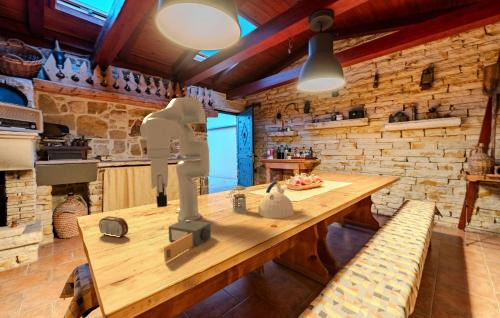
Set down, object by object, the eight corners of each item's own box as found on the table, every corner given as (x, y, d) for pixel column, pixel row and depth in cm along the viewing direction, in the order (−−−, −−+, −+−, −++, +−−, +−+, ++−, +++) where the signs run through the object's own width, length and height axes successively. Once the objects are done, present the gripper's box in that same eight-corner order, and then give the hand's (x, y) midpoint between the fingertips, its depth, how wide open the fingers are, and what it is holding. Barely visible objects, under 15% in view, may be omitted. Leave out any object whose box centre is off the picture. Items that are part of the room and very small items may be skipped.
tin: (129, 236, 93) (128, 217, 93) (123, 239, 90) (121, 220, 90) (104, 233, 98) (103, 215, 97) (98, 235, 95) (96, 217, 95)
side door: (167, 262, 69) (166, 247, 69) (164, 261, 70) (163, 246, 69) (194, 246, 80) (194, 233, 80) (192, 245, 81) (191, 232, 81)
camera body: (168, 241, 86) (167, 225, 86) (185, 232, 95) (184, 217, 95) (198, 247, 80) (197, 230, 80) (213, 237, 89) (212, 221, 89)
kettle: (299, 210, 124) (298, 180, 123) (285, 221, 106) (284, 185, 105) (268, 206, 134) (267, 178, 134) (251, 215, 117) (250, 183, 116)
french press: (241, 214, 119) (240, 170, 117) (225, 212, 125) (224, 170, 124) (251, 210, 127) (249, 168, 126) (235, 207, 133) (234, 168, 132)
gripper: (149, 154, 79) (152, 202, 80) (144, 155, 65) (148, 214, 66) (170, 153, 81) (173, 200, 83) (170, 154, 67) (173, 210, 69)
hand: (162, 206), depth 74 cm, fingers closed
